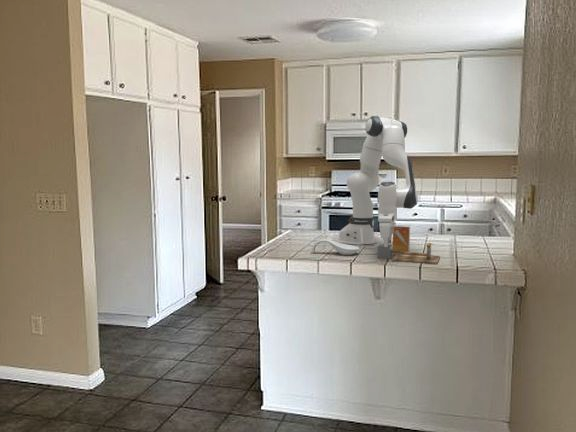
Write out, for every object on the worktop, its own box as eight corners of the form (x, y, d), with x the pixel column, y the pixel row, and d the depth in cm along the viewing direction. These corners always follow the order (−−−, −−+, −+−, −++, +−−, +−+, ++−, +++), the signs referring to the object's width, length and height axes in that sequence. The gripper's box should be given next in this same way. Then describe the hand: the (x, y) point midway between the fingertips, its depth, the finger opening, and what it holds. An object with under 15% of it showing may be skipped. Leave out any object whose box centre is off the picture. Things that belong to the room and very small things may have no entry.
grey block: (377, 258, 248) (377, 245, 247) (379, 256, 252) (379, 244, 251) (390, 259, 245) (390, 246, 245) (392, 257, 250) (392, 244, 249)
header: (392, 261, 240) (392, 244, 239) (397, 255, 254) (397, 239, 253) (437, 264, 233) (437, 247, 232) (439, 257, 247) (440, 241, 246)
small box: (392, 251, 263) (392, 226, 261) (393, 249, 269) (394, 224, 267) (408, 252, 260) (409, 226, 259) (409, 250, 266) (410, 225, 265)
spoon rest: (359, 252, 263) (359, 238, 262) (358, 257, 251) (359, 242, 250) (313, 251, 267) (313, 237, 266) (310, 255, 255) (310, 241, 254)
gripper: (384, 213, 257) (384, 241, 259) (377, 218, 238) (377, 248, 239) (397, 213, 255) (397, 241, 256) (391, 218, 236) (391, 248, 237)
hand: (387, 245), depth 248 cm, fingers open, 8 cm apart
